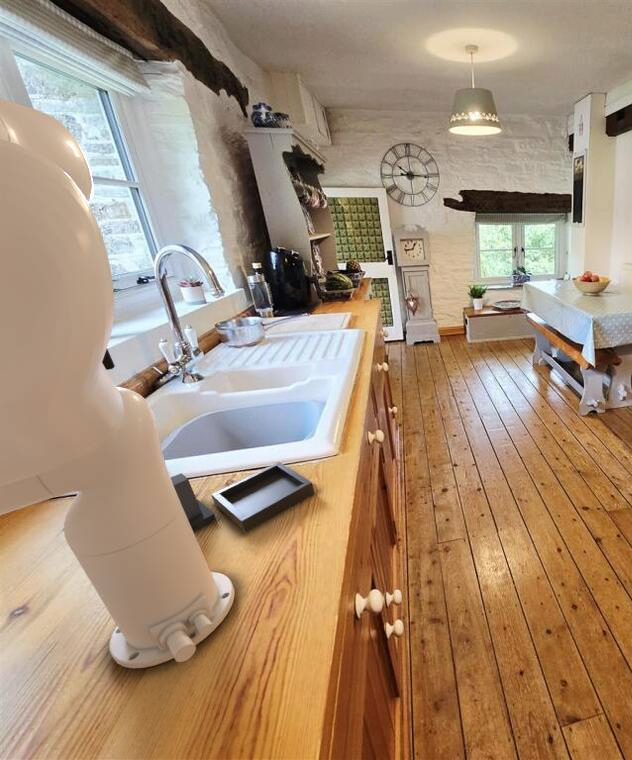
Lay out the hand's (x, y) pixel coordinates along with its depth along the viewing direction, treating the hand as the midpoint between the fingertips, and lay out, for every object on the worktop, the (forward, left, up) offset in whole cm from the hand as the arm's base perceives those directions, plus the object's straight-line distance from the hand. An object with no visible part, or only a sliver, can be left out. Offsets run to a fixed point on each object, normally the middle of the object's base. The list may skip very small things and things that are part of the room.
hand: (85, 381), depth 57 cm
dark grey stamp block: (-2, -3, -27) cm, 27 cm away
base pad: (-7, -14, -27) cm, 31 cm away
